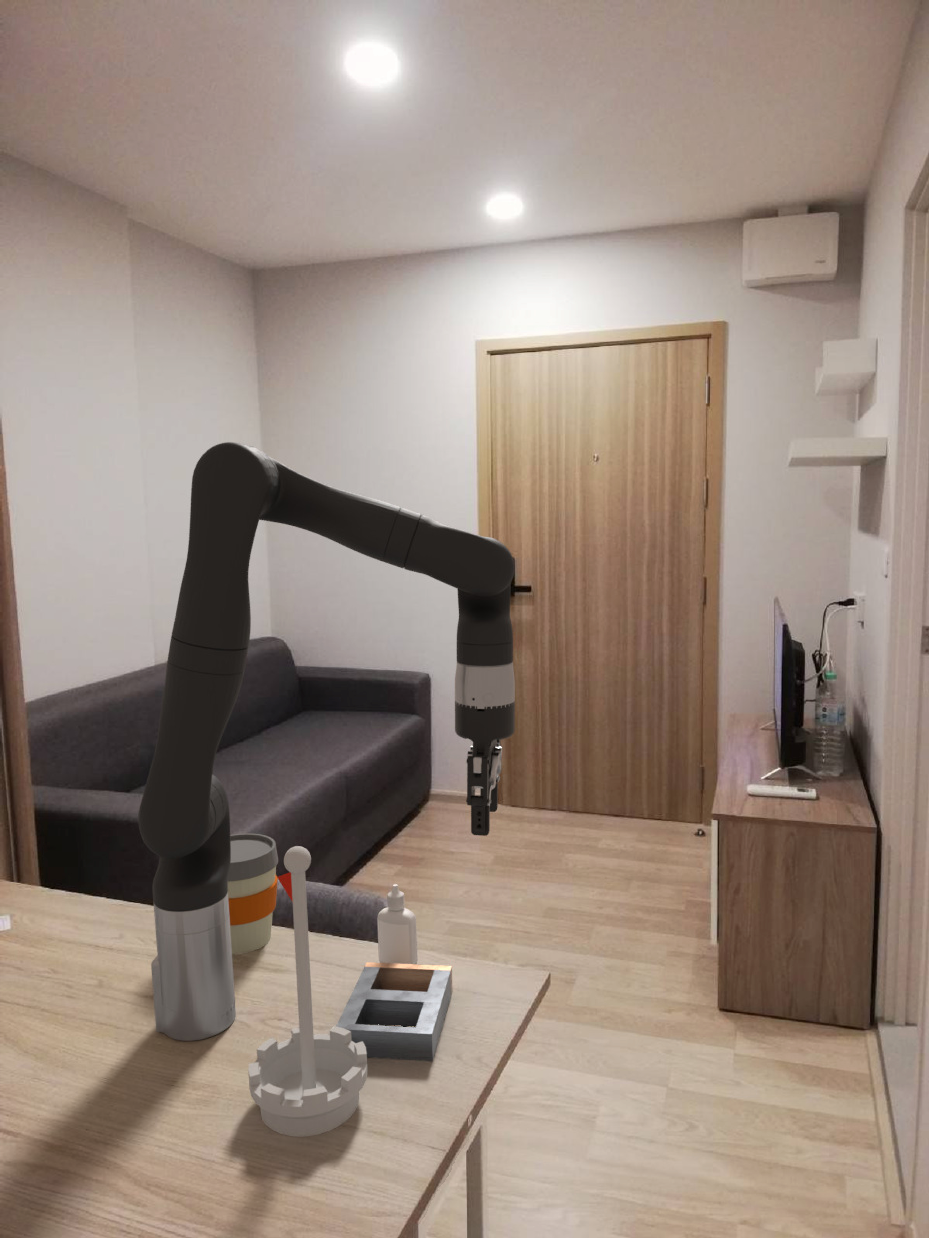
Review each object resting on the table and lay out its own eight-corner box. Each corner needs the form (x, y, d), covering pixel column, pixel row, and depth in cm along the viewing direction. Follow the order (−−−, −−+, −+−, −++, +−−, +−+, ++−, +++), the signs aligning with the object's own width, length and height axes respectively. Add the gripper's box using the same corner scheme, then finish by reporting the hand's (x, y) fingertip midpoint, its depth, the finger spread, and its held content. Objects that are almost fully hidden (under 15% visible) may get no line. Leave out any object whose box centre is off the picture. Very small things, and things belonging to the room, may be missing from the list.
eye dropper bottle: (396, 975, 127) (393, 895, 125) (375, 960, 131) (372, 883, 130) (421, 965, 130) (418, 886, 128) (399, 951, 134) (396, 875, 133)
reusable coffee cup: (185, 940, 139) (179, 848, 137) (256, 913, 148) (251, 826, 146) (224, 969, 130) (217, 871, 128) (297, 939, 139) (293, 846, 137)
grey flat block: (336, 1055, 109) (334, 1028, 108) (367, 985, 125) (366, 962, 124) (432, 1061, 107) (431, 1033, 107) (452, 989, 123) (451, 965, 122)
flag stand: (391, 1106, 99) (380, 848, 96) (285, 1161, 91) (269, 882, 88) (331, 1052, 110) (319, 817, 106) (231, 1098, 101) (215, 845, 98)
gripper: (463, 685, 119) (464, 802, 121) (445, 709, 105) (446, 841, 107) (519, 686, 118) (519, 805, 120) (508, 711, 104) (508, 844, 106)
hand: (484, 822), depth 113 cm, fingers open, 8 cm apart
